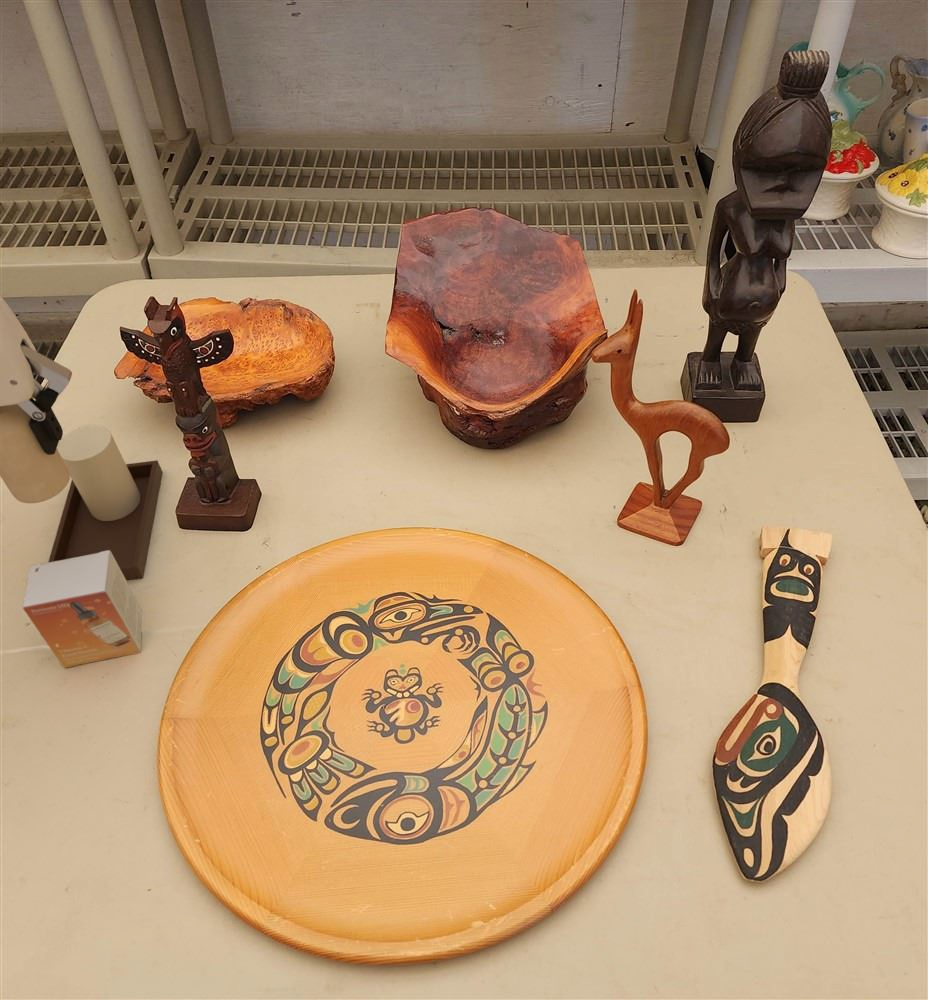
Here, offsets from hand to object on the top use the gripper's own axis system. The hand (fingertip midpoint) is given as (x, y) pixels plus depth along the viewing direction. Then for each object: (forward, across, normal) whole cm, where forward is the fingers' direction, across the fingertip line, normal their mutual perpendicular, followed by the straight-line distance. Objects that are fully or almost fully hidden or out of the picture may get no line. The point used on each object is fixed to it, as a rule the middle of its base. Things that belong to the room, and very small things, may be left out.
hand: (20, 447), depth 81 cm
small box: (+22, +2, -7) cm, 23 cm away
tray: (+21, -1, +9) cm, 23 cm away
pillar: (+21, -1, +13) cm, 24 cm away
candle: (+5, 0, 0) cm, 5 cm away
